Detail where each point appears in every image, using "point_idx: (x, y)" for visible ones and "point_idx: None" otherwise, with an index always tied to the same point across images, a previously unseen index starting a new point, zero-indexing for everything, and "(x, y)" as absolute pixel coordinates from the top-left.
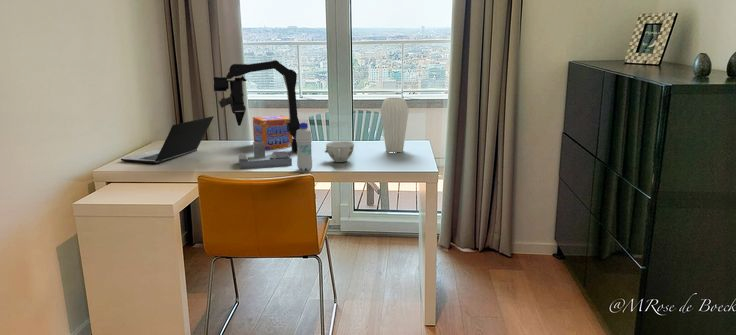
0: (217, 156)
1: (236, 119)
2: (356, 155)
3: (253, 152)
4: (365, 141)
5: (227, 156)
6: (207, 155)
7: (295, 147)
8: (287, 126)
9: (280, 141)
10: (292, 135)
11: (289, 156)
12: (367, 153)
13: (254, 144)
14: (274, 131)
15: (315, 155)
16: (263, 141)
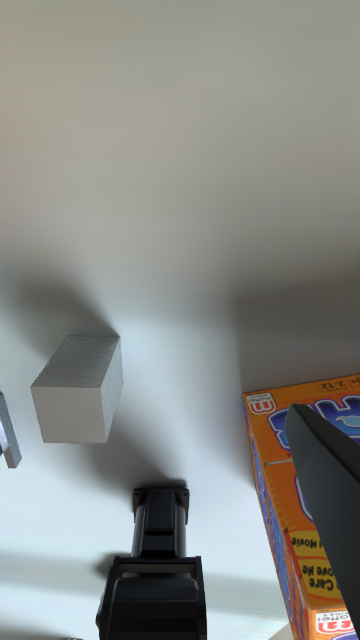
0: (194, 108)
1: (323, 445)
2: (52, 596)
3: (114, 348)
4: (264, 636)
5: (168, 187)
6: (271, 11)
7: (143, 512)
8: (169, 632)
9: (260, 492)
10: (122, 576)
11: (15, 467)
12: (76, 615)
13: (34, 387)
14: (275, 537)
15: (78, 527)
16: (102, 442)
